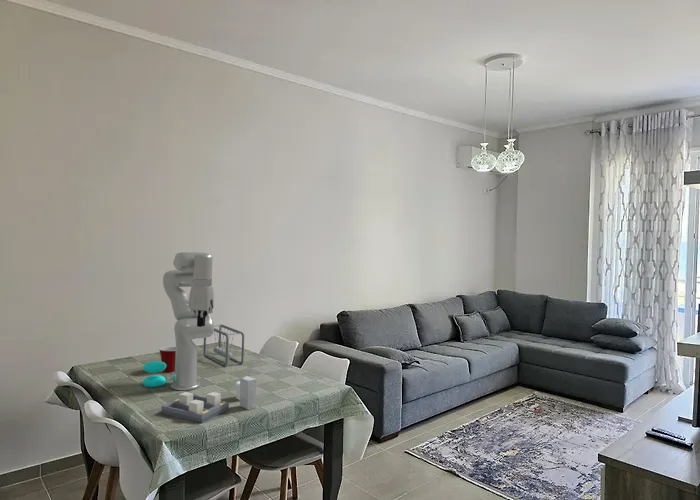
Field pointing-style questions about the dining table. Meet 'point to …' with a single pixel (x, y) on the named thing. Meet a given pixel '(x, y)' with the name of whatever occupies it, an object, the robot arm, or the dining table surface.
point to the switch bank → (183, 412)
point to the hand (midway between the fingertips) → (201, 326)
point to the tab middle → (185, 398)
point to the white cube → (196, 406)
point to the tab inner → (214, 398)
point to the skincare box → (248, 392)
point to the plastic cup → (168, 358)
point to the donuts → (156, 379)
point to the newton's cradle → (220, 350)
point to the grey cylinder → (238, 390)
